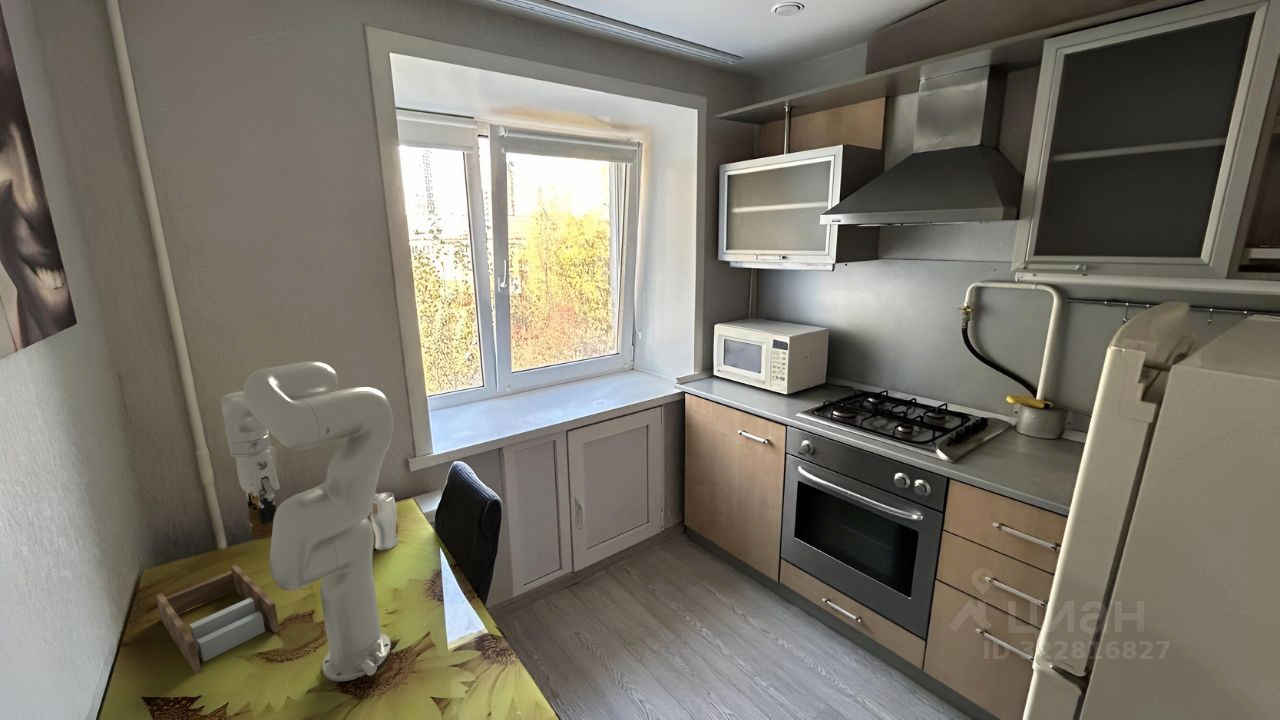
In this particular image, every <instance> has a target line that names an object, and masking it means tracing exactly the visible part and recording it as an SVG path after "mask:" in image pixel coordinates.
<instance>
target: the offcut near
mask: <svg viewBox="0 0 1280 720" xmlns="http://www.w3.org/2000/svg"><path fill="white" fill-rule="evenodd" d="M254 613H256V610H255V604H254V600H253V599H252V598H251V597H250V598H248V599H246V600H244V599H243V600H242V601H240V602H237V603H235V604H233V605H229V606H228V607H225V608H224V609H222V610H219V611H217V612H215V613H212V614H210V615H207V616H206V617H203V618H201V619H199V620H197V621H194V622H191V623H190V624H189V628H190V634H191V636H192V637H193V639H194V640H195V644H196V648H197V653H200V651H199V647H198V642H197V640H198V639H200V638H202V637H204V636H206V635H209V634H211V633H213V632H215V631H217V630H219V629H221V628H224V627H226V626H228V625H230V624H232V623H234V622H236V621H239V620H241V619H243V618H245V617H247V616H249V615H251V614H254Z"/></svg>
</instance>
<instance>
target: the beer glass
mask: <svg viewBox="0 0 1280 720" xmlns="http://www.w3.org/2000/svg"><path fill="white" fill-rule="evenodd" d="M368 517H369V521H370V523H371V525H372V528H373V533H374V535H375V536H374V537H375V544H374V545H375V546H374V547H375V549H376V550H378V551H381V552H382V551H388V550H390V549H393V548H395V547H396V546H398V544H399V539H398V536H397V532H396V526H397V525H396V523H397V506H396V500H395V497H394V493H392V492H389V491H387V492H379V493H375V497H374V501H373V505H372V509H371V512H370V514H369V515H368Z"/></svg>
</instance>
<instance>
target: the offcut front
mask: <svg viewBox="0 0 1280 720" xmlns="http://www.w3.org/2000/svg"><path fill="white" fill-rule="evenodd" d="M265 632H266V628H265V622H264V621H263V617H262V614H261V613H260V612H259V611H258V612H256V613H254V614H251V615H249V616H247V617H245V618H243V619H241V620H239V621H236V622H234V623H232V624H230V625H228V626H226V627H224V628H221V629H219V630H217V631H215V632H213V633H211V634H209V635H206V636H204V637H202V638H200V639H198V640H197V642H198V647H199V651H200V652H199V655H200V659H201V661H202V662H206V661H209V660H211V659H212V658H214V657H217V656H219V655H221V654H223V653H225V652H226V651H229V650H231V649H233V648H235V647H237V646H238V645H241V644H243V643H246V642H247V641H249V640H251V639H253V638H255V637H257V636H260V635H261V634H263V633H265Z"/></svg>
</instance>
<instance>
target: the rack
mask: <svg viewBox="0 0 1280 720" xmlns="http://www.w3.org/2000/svg"><path fill="white" fill-rule="evenodd" d="M233 592H236V593H237V594H238V596H240V597H241V598H242V600H243V601H244V600H246V599H248V598H250V597H251V598H252V599H253V600H254V604H255V610H256V612H258V611H259V612H260V613H261V614H262V617H263V622H264V624H266V625H267V627H268V628H269V629H270V630H271V631H272V632H273V633H274V634H276V633H278V632H280V625H279V620H278V613H277V607H276V603H275V601H273V600H272V598H270V597H269V596H268V595H267V594H266V592H265V591H263V590H262V589H261V588H260V587H259V586H258V585H257V584H256V582H255V581H253V580H252V579H251V578H250V577H249V576H248V575H247V574H246V573H245V571H244V570H243V569H241V568H240V567H239V566H238V565H237V564H236V563H233V564H231V565H230V570H229V571H227V572H224V573H222V574H219V575H217V576H215V577H212V578H210V579H207V580H205V581H201V582H200V583H196V584H194V585H192V586H190V587H188V588H187V587H186V588H185V589H182V590H180V591H177V592H175V593H172V594H169V595H167V596H165V595H164V594H163V592H160V593H157V594H156V595H155V596H156V604H157V607H158V608H157V609H158V612H159V616H160V620H161V622H162V621H163V622H162V624H163V623H164V624H163V625H164V626H166V627H165V628H166V630H167V632H168V631H169V632H168V633H169V635H170V636H171V637H172V640H173V641H174V642H175V645H176V646H177V647H178V649H179V651H180V652H181V654H182V655H183V657H184V658H185V660H186V662H187V663H188V666H189V667H190V668H191V669H192V672H194V674H197V673H199V672H201V671H202V667H201V663H200V657H199V654H198V653H199V652H198V653H197V648H196V644H195V640H194V639H193V637H192V634H191V632H190V631H189V630H188V629H187V627H186V626H185V624H184V623H183V621H182V620H181V618H180V616H179V615H178V614H180V613H182V612H184V611H186V610H187V609H190V608H192V607H195V606H197V605H200V604H203V603H206V602H208V603H210V602H209V601H211V602H213V601H215V600H218V599H220V598H222V597H224V596H226V595H229V594H232V593H233ZM217 598H218V599H217ZM214 599H215V600H214ZM212 600H213V601H212ZM206 604H207V603H206ZM180 615H181V614H180Z"/></svg>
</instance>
